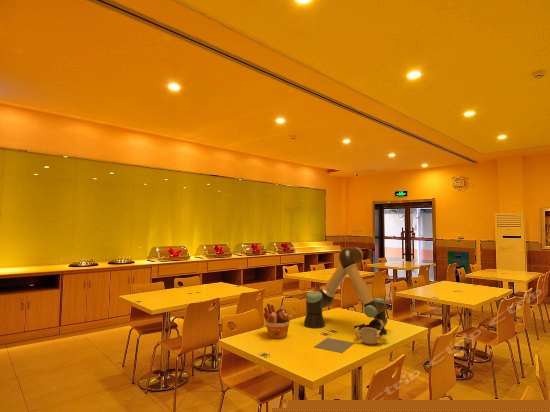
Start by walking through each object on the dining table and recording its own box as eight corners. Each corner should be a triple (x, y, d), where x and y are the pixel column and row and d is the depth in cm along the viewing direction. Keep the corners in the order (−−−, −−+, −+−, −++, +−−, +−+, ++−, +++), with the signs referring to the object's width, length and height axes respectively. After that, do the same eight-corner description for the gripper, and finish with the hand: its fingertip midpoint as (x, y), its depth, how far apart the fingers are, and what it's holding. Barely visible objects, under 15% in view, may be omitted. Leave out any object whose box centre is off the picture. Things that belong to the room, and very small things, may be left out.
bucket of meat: (296, 336, 220) (296, 305, 222) (277, 342, 209) (277, 309, 211) (276, 330, 235) (276, 301, 237) (257, 335, 224) (257, 304, 226)
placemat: (313, 347, 200) (313, 346, 200) (327, 338, 217) (327, 337, 217) (342, 353, 190) (342, 352, 190) (354, 342, 207) (354, 342, 207)
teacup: (378, 340, 211) (377, 327, 211) (379, 346, 200) (379, 332, 201) (355, 339, 213) (354, 326, 214) (355, 345, 203) (355, 331, 203)
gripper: (395, 333, 215) (387, 343, 198) (357, 328, 229) (346, 336, 211) (395, 321, 216) (386, 330, 198) (357, 316, 229) (346, 324, 211)
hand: (365, 333), depth 204 cm, fingers closed on teacup, 13 cm apart
